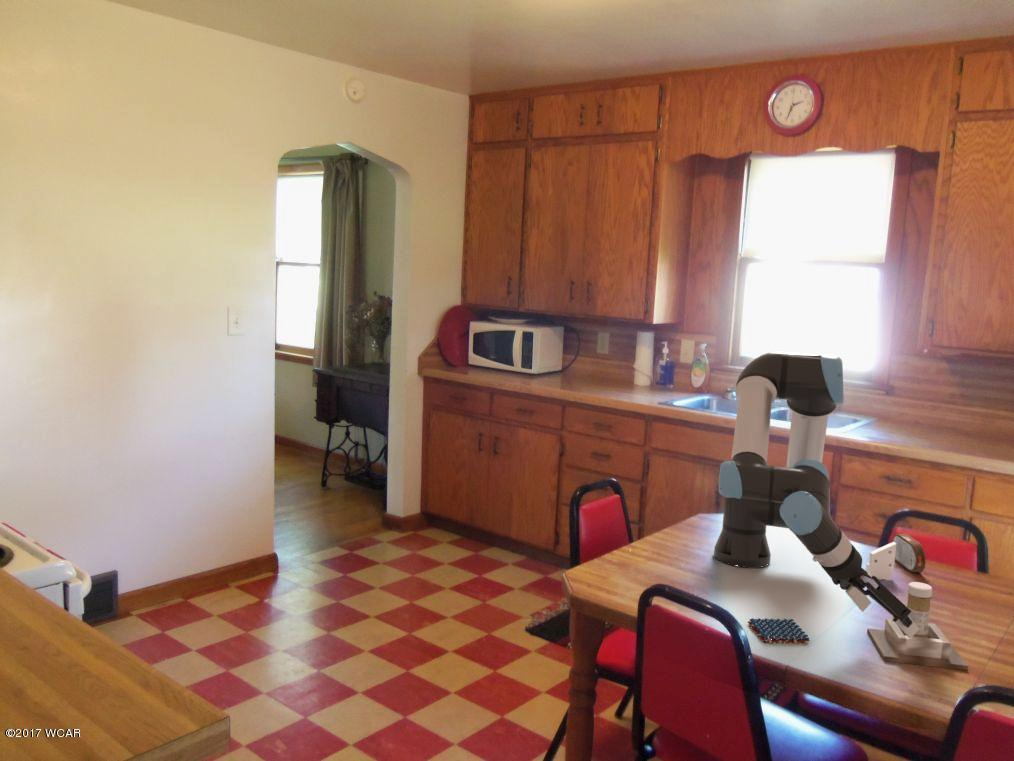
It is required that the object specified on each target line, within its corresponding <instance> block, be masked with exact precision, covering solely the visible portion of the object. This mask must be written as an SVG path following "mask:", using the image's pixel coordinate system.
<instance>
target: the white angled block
mask: <svg viewBox="0 0 1014 761" xmlns="http://www.w3.org/2000/svg"><path fill="white" fill-rule="evenodd" d="M895 553H896V543H895V542H893V541H892V542H890V543H888V544H885V545H883V546H881V547H878V548H877V549H876V548H875V549H873V550H871V551H870V552H869V562H866V564H865V567H866V568H865V571H866V572H867V573H868V575H869V576H870V577H872V576H875V577H877V579H878V580H881V579H886V580H885V581H893V579H894V569H895V561H896V560H895Z"/></svg>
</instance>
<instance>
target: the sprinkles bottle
mask: <svg viewBox="0 0 1014 761" xmlns="http://www.w3.org/2000/svg"><path fill="white" fill-rule="evenodd" d="M907 585H908V586H907V594H908V595H907V596H908V597H907V603H906V604H907V606H906V607H907V608H909V609H910V611H911V613H910V614H909V616H910V618H911V619H912V620H913V621H914V623H915V624H916V625H917V626H918V628H919V630H918V631H917V632H916V634H915V635H914V637H923V638H927V634H928V625H929V623H930V612H931V599H932V596H933V588H932V586H931V585H929V584H927V583H924V582H919V581H911V582H909V583H908V584H907ZM905 636H907V635H906V634H905Z"/></svg>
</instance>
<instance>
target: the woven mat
mask: <svg viewBox="0 0 1014 761" xmlns="http://www.w3.org/2000/svg"><path fill="white" fill-rule="evenodd" d="M747 624H748V625H749V627H750V628H751V627H752V628H751V629H752V631H754V633H755V632H756V633H755V634H756V635H757V634H758V635H757V638H759V637H760V638H759V640H761V641H762V640H763V641H765V642H766V643H768V642H769V644H773V643H774V642H775V643H776V644H775V645H777V643H778V642H779V643H778V644H780V643H781V644H782V643H783V644H787V643H789V644H795V645H797V644H799V643H800V644H799V645H802V643H801V642H803V644H805V645H807V644H808V643H809V642H810V637H809V635H808V634H807V633H806V631H803V628H800V625H798V624H797V622H795V621H794V619H792V618H790V619H789V618H788V619H786V618H784V619H780V618H766V617H765V618H759V617H758V618H750V619H749V621H747ZM771 639H772V640H771ZM763 641H762V642H763ZM777 641H778V642H777Z"/></svg>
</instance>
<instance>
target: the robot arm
mask: <svg viewBox="0 0 1014 761" xmlns="http://www.w3.org/2000/svg"><path fill="white" fill-rule="evenodd" d="M843 369H844V368H843V360H842V359H841V357H839V356H837V355H831V354H826V353H821V354H815V353H801V352H787V351H786V352H785V351H772V352H771V351H770V352H767V353H765V354H761V355H760V356H758V357H756V358H754V359H753V360H751V362H749V363H748V364H747V365H746V366H745V367H743V369H742V371H741V372H740V374H739V376H738V378H737V381H736V383H735V384H736V385H735V389H734V390H735V391H734V392H735V397H736V399H737V401H738V402H737V411H736V417H735V418H736V419H735V426H734V435H733V441H732V451H731V456H730V457H731V458H730V460H729V461H728V460H725V461H721V463H720V467H719V476H718V492H719V495H722V496H723V497H724V503H723V504H724V505H723V518H722V529H721V531H720V534H719V536H718V538H717V541H716V543H715V545H714V548H713V557H714V556H715V557H716V558H717V559H719V560H720V561H719V560H718V561H719V562H721V561H723V562H725V563H724V564H726V563H729V564H732V565H731V566H733V565H738V566H744V567H743V568H747V567H758V568H762V567H761V566H764V567H766V566H765V565H767V564H769V563H771V551H770V547H769V543H768V539H767V535H766V534H767V526H769V527H774V528H775V527H776V528H782V529H784V528H785V529H789V530H790V532H791V533H792V534H794V535H795V536H796V538H797V539H798V540H799V541H800V542H801V544H803V546H804V547H805V548H806V549H807V551H808V552H809V554H811V555H812V556H813V557H812V558H811V559H812V561H813V562H818V563H819V565H820V566H821V568H822V569H823V570H824V571H825V573H826V574H827V575H828V576H829V577H830V579H831V580H832V583H833V584H834V585H836V586H838V585H839V587H840V589H841V590H844V591H845V593H846V594H847V596H848V597H849V598H850V599H851V601H852V602H853V603H854V604H855V605H856V606H857V608H858V609H859V611H861V612H864V611H865V610H867V608H868V607H869V606H870V605H871V604H872V602H871V600H870V599H869V597H870V598H871V599H872V600H873V601H875V602H876V603H877V604H878V605H879V606H880V607H882V608H883V609H884V610H885V611H886V612H887V613H889V614H890V615H891V619H893V621H894V622H896V623H897V624H898V625H899V627H900V628H901V629H902V630H903V632H904V633H905V634H906V635H907V636H908V637H909V638H910V639H911V638H912V637H913V636H914V635H915V634H916V632H917V631H918V630H919V628H918V626H917V625H916V624H915V623H914V621H913V620H912V619H911V618H910V616H909V614H910V613H911V611H910V609H909V608H907V606H906V605H905V604H904V603H903V602H902V601H901V600H900V599H899V598H898V597H897V596H895V595H894V594H893V592H892V591H890V590H889V589H888V588H887V587H886V586H885V585H884V584H883V583H882V582H881V581H880V579H877V577H875V576H872V577H870V576H869V575H868V573H867V572H866V569H864V568H863V567H862V566H863V557H862V555H861V553H860V552H859V551H858V550H857V549H856V547H855V546H854V544H853V543H851V540H850V539H849V538H848V537H847V536H846V534H845V533H844V532H843V530H842V529H841V528H839V526H838V524H836V522H835V521H834V520H833V518H832V517H831V505H830V503H831V501H830V500H831V499H830V498H831V496H830V494H831V493H830V492H831V490H830V489H831V482H830V476H829V474H830V473H829V470H828V468H827V466H826V465H825V464H823V458H824V451H825V443H826V435H827V427H828V421H829V420H828V419H829V415H831V414H832V413H834V412H835V410H836V408H837V406H838V405H842V404H844V401H845V399H844V396H845V395H844V372H843V371H844V370H843ZM777 399H779V400H783V401H785V400H786V405H787V407H788V408H789V410H791V417H790V427H789V428H790V430H789V437H788V448H787V458H786V466H776V465H768V455H769V453H768V452H769V444H770V443H769V442H770V429H771V415H772V404H774V402H775V401H776V400H777ZM715 557H714V558H715ZM716 558H715V559H716ZM717 559H716V560H717ZM723 562H722V563H723ZM729 564H728V565H729ZM769 565H770V564H769ZM738 566H737V567H738ZM767 566H768V565H767ZM865 588H866V590H865ZM867 596H869V597H867Z"/></svg>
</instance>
